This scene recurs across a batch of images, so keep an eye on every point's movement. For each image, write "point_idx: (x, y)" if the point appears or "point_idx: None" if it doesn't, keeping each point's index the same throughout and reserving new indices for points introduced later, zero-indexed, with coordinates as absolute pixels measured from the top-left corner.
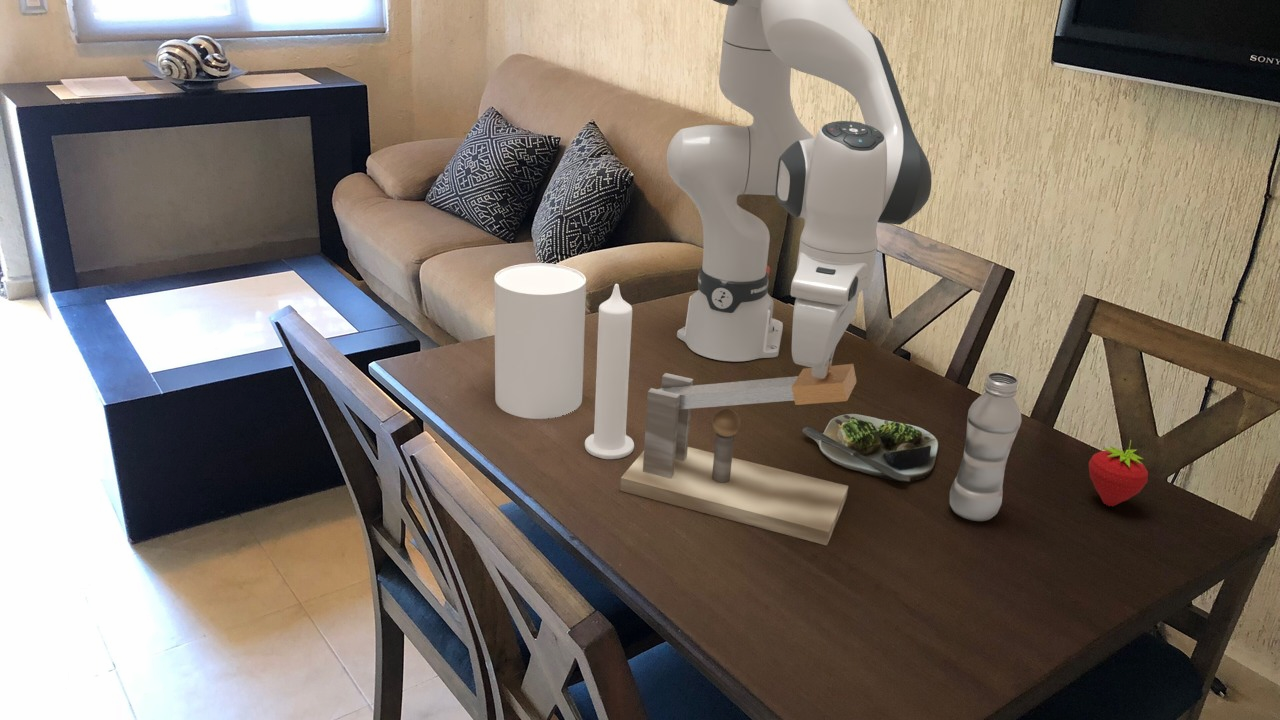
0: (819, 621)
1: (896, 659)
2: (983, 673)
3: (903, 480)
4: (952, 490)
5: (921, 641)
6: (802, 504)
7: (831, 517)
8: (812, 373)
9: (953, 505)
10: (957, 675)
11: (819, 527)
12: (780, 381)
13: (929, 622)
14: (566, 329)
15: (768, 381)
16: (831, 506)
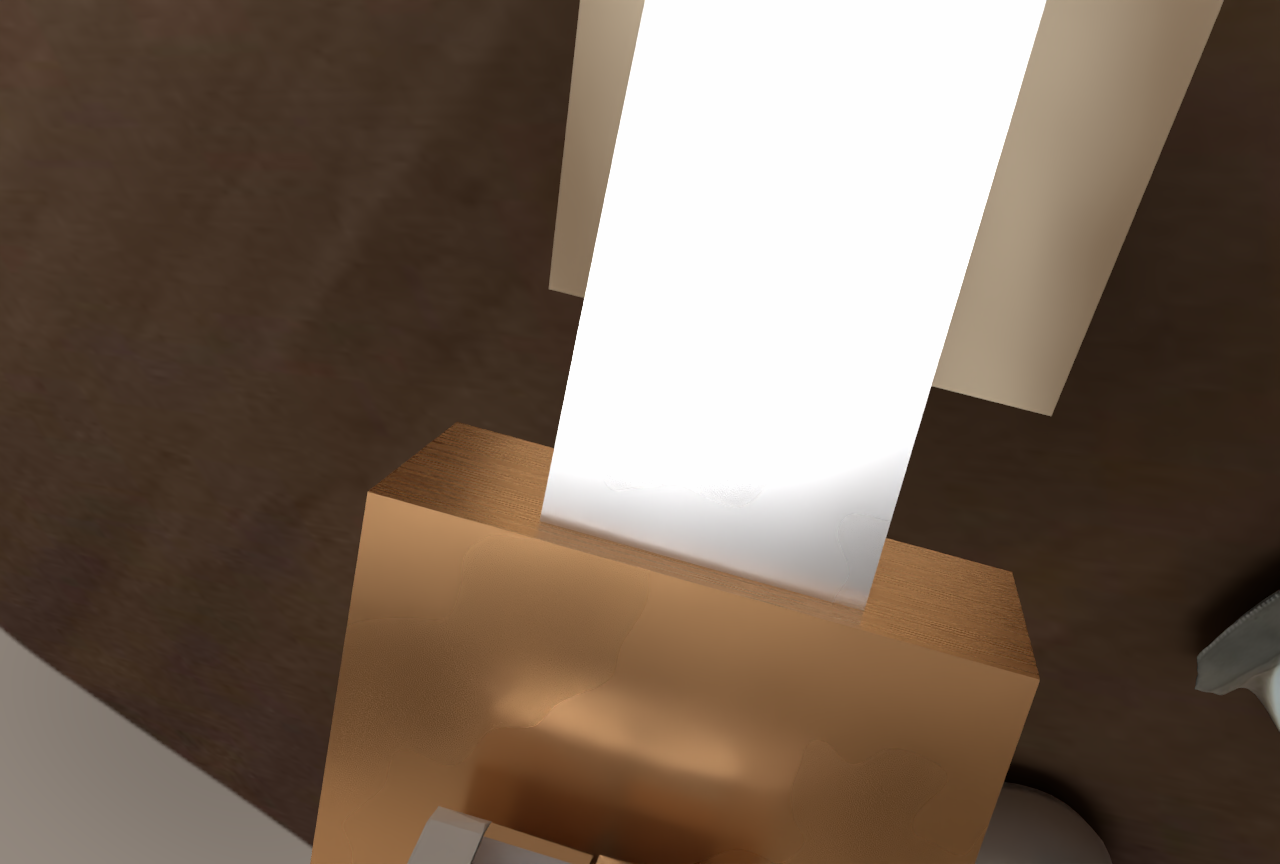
0: (59, 204)
1: (26, 435)
2: (109, 640)
3: (1197, 667)
4: (996, 848)
5: (149, 517)
6: None
7: None
8: (423, 833)
9: None
10: (62, 579)
11: (571, 244)
12: (781, 319)
13: (253, 555)
14: None
15: (885, 124)
16: None
